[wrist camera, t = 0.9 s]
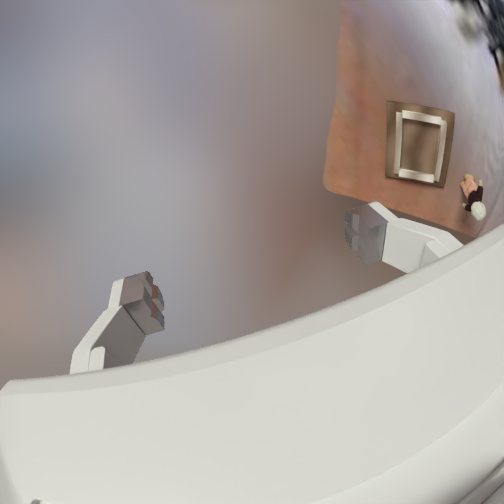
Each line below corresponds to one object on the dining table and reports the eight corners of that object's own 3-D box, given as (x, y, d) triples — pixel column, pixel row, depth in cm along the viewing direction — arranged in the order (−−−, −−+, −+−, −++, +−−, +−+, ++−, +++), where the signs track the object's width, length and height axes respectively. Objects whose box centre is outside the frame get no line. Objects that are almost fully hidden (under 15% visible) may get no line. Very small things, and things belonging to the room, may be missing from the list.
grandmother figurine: (469, 196, 44) (479, 234, 37) (455, 191, 46) (465, 228, 38) (480, 168, 38) (496, 203, 31) (466, 163, 40) (480, 196, 32)
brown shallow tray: (453, 112, 34) (456, 116, 33) (443, 184, 46) (444, 190, 45) (387, 100, 41) (387, 103, 39) (385, 173, 52) (384, 179, 51)
